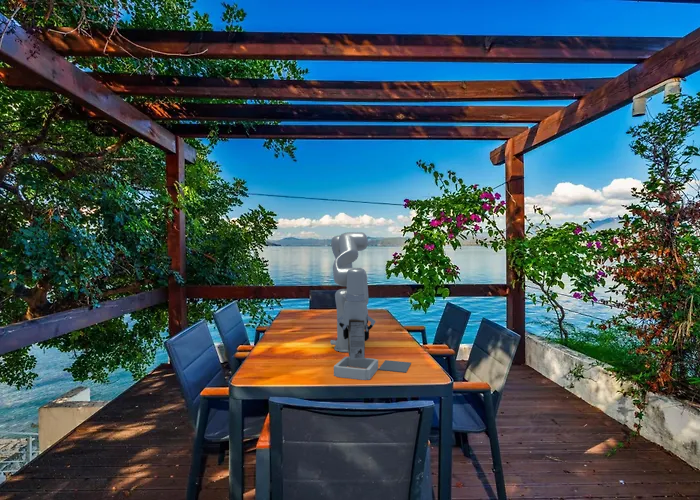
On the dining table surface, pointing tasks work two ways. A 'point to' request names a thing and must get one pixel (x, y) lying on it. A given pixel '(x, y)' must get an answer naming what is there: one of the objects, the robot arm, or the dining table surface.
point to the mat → (395, 366)
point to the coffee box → (356, 339)
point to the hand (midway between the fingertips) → (356, 339)
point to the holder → (356, 373)
